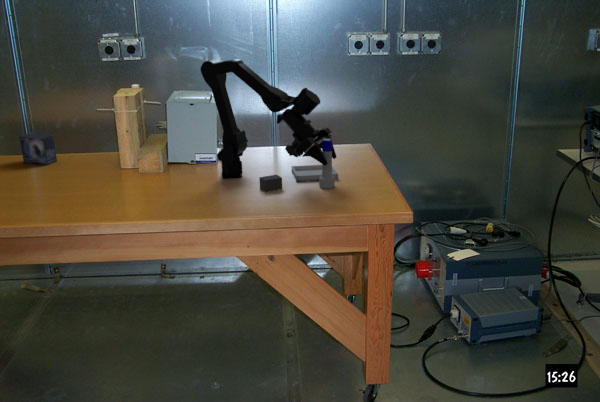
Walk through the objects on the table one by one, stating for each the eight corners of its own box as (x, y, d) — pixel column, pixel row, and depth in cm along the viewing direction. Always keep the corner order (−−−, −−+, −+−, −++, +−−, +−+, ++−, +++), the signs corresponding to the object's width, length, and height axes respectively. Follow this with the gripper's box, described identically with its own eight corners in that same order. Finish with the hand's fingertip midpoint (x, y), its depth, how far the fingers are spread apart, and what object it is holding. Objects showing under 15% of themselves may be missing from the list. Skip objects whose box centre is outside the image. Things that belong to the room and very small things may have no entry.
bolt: (333, 189, 199) (317, 188, 200) (336, 184, 203) (321, 184, 204) (333, 141, 194) (317, 141, 195) (336, 138, 198) (321, 137, 199)
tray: (296, 181, 207) (296, 176, 206) (291, 171, 218) (291, 166, 217) (337, 179, 209) (337, 173, 208) (331, 169, 220) (331, 164, 219)
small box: (22, 164, 232) (18, 136, 228) (34, 159, 238) (30, 132, 234) (46, 166, 229) (42, 138, 226) (57, 161, 235) (54, 134, 231)
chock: (265, 192, 197) (264, 180, 196) (260, 189, 201) (259, 177, 199) (282, 189, 200) (281, 177, 199) (276, 186, 203) (276, 174, 202)
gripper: (294, 134, 211) (324, 169, 210) (270, 147, 194) (303, 184, 194) (315, 112, 205) (347, 148, 205) (293, 124, 189) (327, 162, 189)
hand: (331, 161), depth 198 cm, fingers open, 8 cm apart
